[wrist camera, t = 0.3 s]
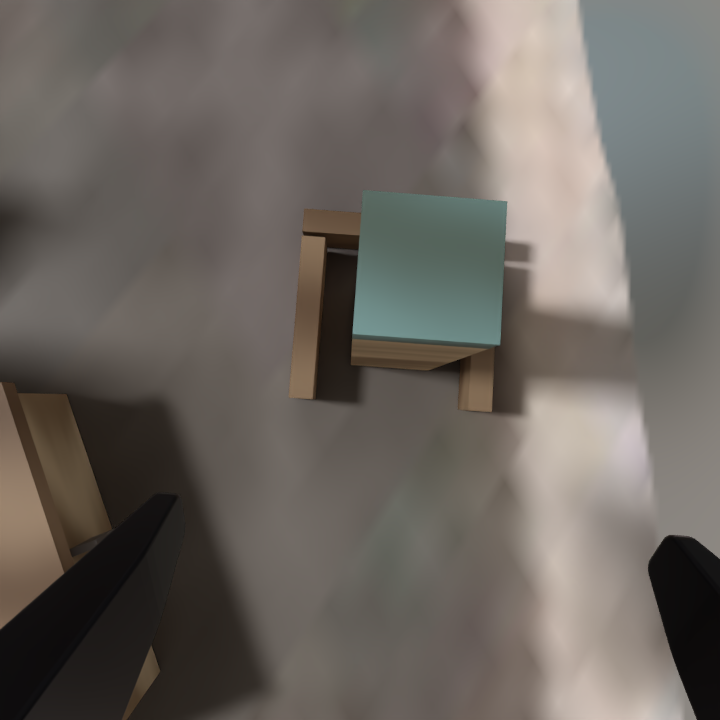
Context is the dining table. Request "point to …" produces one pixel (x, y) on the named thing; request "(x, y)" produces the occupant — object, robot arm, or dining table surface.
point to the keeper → (319, 235)
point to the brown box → (47, 505)
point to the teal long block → (427, 279)
